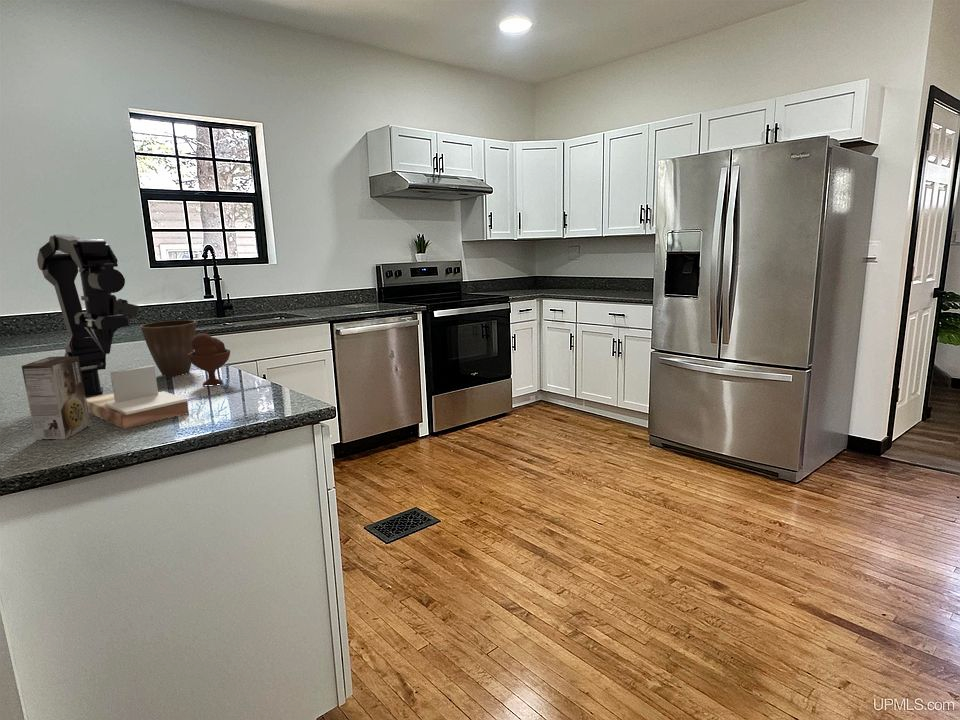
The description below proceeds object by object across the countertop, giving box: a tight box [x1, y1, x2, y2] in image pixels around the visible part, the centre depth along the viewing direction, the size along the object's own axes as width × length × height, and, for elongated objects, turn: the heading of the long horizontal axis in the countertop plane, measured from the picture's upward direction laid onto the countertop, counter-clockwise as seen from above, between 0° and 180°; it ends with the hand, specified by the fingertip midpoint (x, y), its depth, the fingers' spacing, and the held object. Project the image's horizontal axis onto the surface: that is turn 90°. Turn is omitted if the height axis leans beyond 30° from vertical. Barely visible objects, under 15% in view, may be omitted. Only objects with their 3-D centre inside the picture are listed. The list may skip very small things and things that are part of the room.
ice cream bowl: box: [187, 333, 231, 385], centre depth 161 cm, size 11×11×15 cm
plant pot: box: [140, 319, 197, 377], centre depth 175 cm, size 15×15×16 cm
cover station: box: [86, 392, 190, 430], centre depth 136 cm, size 24×14×3 cm, turn 52°
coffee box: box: [20, 355, 92, 441], centre depth 121 cm, size 9×6×16 cm
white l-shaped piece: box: [105, 365, 188, 415], centre depth 131 cm, size 12×13×8 cm
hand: (106, 353), depth 142 cm, fingers closed
